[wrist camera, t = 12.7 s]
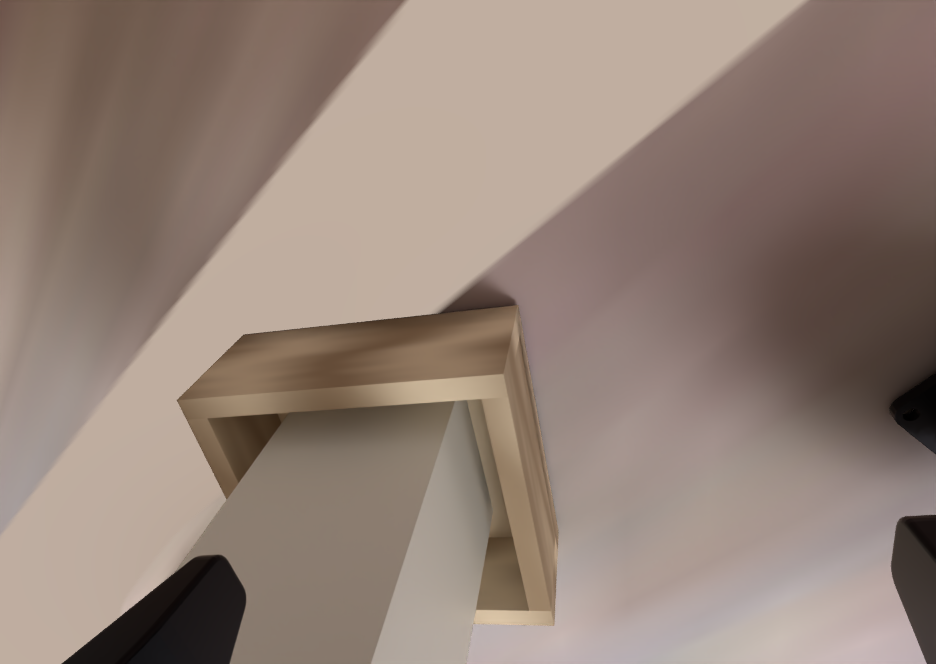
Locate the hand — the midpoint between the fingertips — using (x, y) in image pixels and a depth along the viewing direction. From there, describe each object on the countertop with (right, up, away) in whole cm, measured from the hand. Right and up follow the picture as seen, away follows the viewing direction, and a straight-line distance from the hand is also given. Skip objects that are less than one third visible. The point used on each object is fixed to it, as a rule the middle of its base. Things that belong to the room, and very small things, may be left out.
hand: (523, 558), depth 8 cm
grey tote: (-3, -2, +16) cm, 16 cm away
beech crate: (-3, -1, +17) cm, 17 cm away
